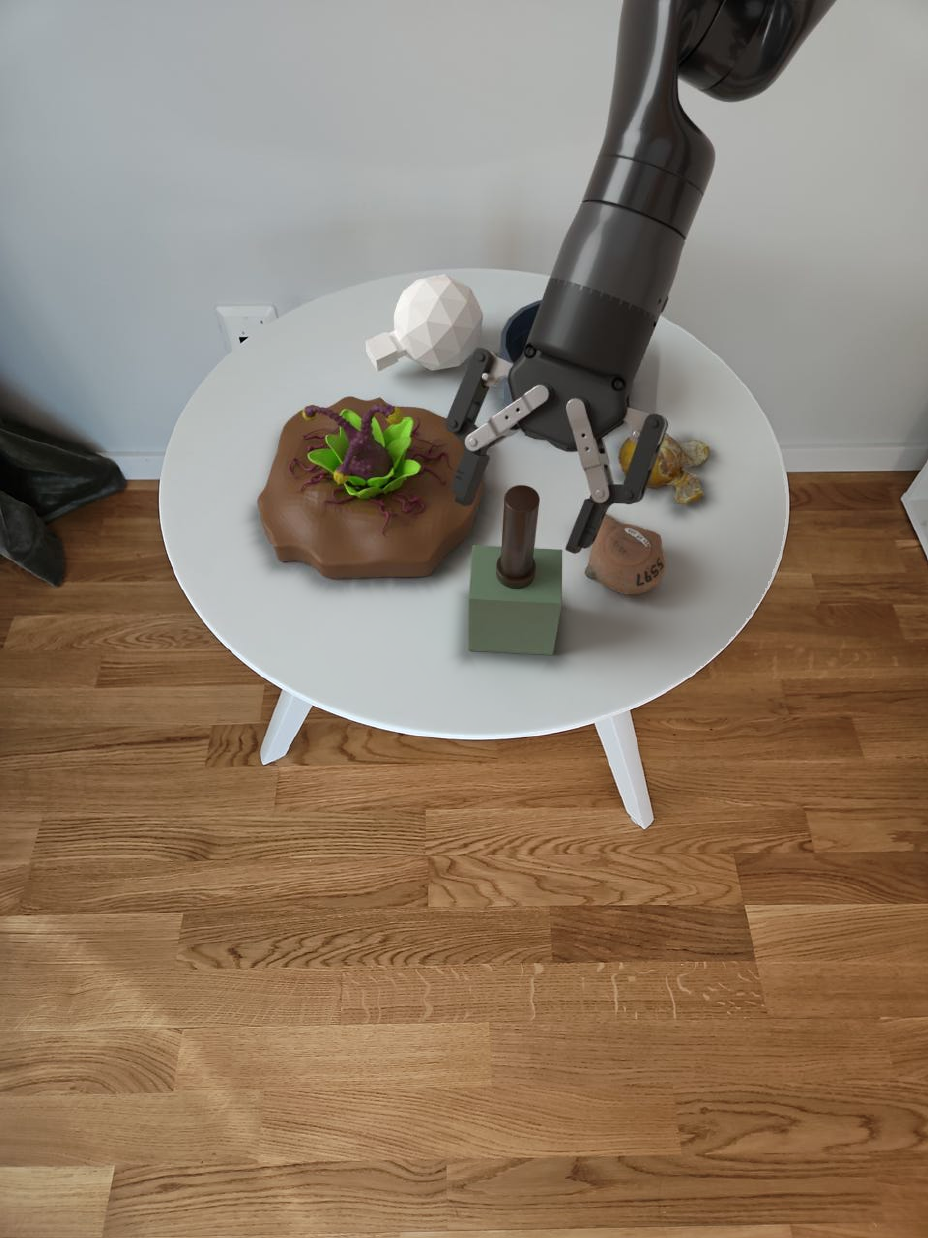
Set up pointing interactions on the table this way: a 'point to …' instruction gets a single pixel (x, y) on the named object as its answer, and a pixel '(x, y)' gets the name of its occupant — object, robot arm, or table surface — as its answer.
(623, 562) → the oil lamp
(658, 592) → the table surface
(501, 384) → the bowl
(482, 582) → the stand
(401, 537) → the plant
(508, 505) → the brown cylindrical peg
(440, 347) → the perfume bottle
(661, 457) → the fruit
